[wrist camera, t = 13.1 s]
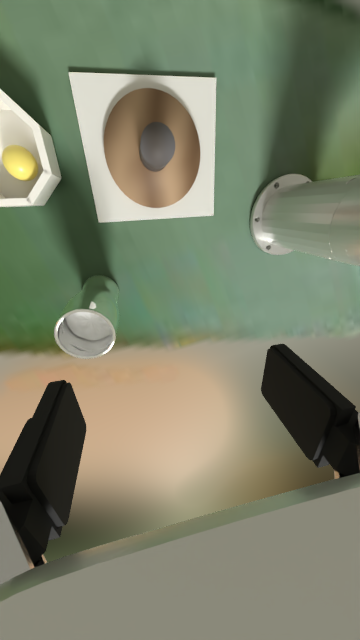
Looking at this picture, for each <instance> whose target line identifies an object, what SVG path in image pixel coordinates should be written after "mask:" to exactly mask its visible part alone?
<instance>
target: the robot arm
mask: <svg viewBox="0 0 360 640" xmlns="http://www.w3.org/2000/svg"><path fill="white" fill-rule="evenodd" d="M274 185H275V186H274ZM255 218H256V220H255ZM250 230H251V234H252V237H253V240H254V242H255V243H256V245H257V246H258V247H259V248H260V249H261V250H263V251H265V252H266V253H269V254H273V255H283V254H287V253H290V252H292V251H294V250H295V251H299V252H303V253H307V254H311V255H315V256H319V257H323V258H327V259H331V260H334V261H338V262H342V263H346V264H351V265H355V266H360V175H355V176H348V177H342V178H335V179H328V180H322V181H315V182H312V181H311V180H310V179H309V178H307V177H306V176H304V175H301V174H288V175H284V176H280V177H278V178H276V179H274V180H273V181H272V182H270V183H269V184H268V185H267V186H266V187H265V188H264V189H263V190H262V191H261V193H260V194H259V196H258V197H257V199H256V201H255V203H254V206H253V209H252V212H251V219H250ZM261 391H262V394H263V396H264V398H265V399H266V400H267V402H268V403H269V405H270V406H271V408H272V409H273V410H274V412H275V413H276V414H277V416H278V417H279V419H280V420H281V422H282V423H283V424H284V426H285V427H286V429H287V430H288V432H289V433H290V434H291V436H292V437H293V438H294V440H295V441H296V443H297V444H298V446H299V447H300V448H301V450H302V451H303V453H304V454H305V455H306V457H307V458H308V459H309V460H312V461H313V462H314V463H315V465H316V466H317V467H322V466H326V465H329V464H330V465H331V466H332V467H333V469H334V474H335V479H334V480H330V481H326V482H322V483H319V484H315V485H311V486H308V487H305V488H301V489H297V490H294V491H290V492H286V493H283V494H279V495H275V496H272V497H268V498H264V499H261V500H257V501H254V502H251V503H247V504H243V505H240V506H236V507H233V508H229V509H225V510H222V511H218V512H215V513H212V514H208V515H204V516H201V517H197V518H194V519H190V520H187V521H183V522H180V523H176V524H173V525H169V526H166V527H163V528H159V529H155V530H152V531H148V532H145V533H142V534H138V535H135V536H131V537H128V538H124V539H121V540H117V541H114V542H111V543H108V544H104V545H101V546H98V547H94V548H91V549H88V550H85V551H81V552H78V553H75V554H72V555H69V556H65V557H62V558H59V559H57V560H54V561H51V562H49V563H47V561H46V559H45V557H44V555H43V553H44V552H45V551H46V547H47V544H48V540H52V539H55V538H59V537H60V535H61V530H62V526H64V525H66V524H67V522H68V518H69V513H70V509H71V504H72V499H73V494H74V489H75V484H76V479H77V474H78V469H79V464H80V459H81V454H82V449H83V444H84V439H85V434H86V423H85V420H84V418H83V415H82V412H81V410H80V407H79V404H78V402H77V399H76V396H75V394H74V391H73V388H72V386H71V383H66V381H65V380H61V381H55V382H50V383H49V384H48V385H47V388H46V390H45V392H44V394H43V396H42V398H41V400H40V402H39V404H38V407H37V409H36V411H35V413H34V415H33V417H32V418H30V419H29V420H28V421H27V423H26V424H25V426H24V428H23V430H22V432H21V434H20V436H19V438H18V440H17V442H16V444H15V446H14V448H13V450H12V452H11V454H10V456H9V458H8V460H7V462H6V464H5V466H4V468H3V471H2V472H1V475H0V640H360V412H359V413H358V412H357V411H356V410H355V406H354V405H353V404H352V403H351V402H350V401H349V400H348V399H347V398H345V397H344V396H343V395H342V394H341V393H339V391H337V390H336V389H335V388H334V387H333V386H332V385H330V384H329V383H328V382H327V381H326V380H325V379H324V378H323V377H321V376H320V375H319V374H318V373H317V372H316V371H315V370H313V369H312V368H311V367H310V366H309V365H308V364H307V363H305V362H304V361H303V360H302V359H301V358H300V357H299V356H297V355H296V354H295V353H294V352H293V351H292V350H291V349H289V348H288V347H287V346H286V345H285V344H278V345H273V346H271V347H270V349H268V351H267V357H266V363H265V369H264V375H263V381H262V387H261Z"/></svg>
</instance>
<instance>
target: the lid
mask: <svg viewBox="0 0 360 640" xmlns="http://www.w3.org/2000/svg"><path fill="white" fill-rule="evenodd" d="M104 154H105V159H106V163H107V166H108V169H109V171H110V174H111V176H112V178H113V179H114V181H115V183H116V184H117V186H118V187H119V189H120V190H121V191H122V192H123V193H124V194H125V195H126V196H127V197H128V198H130V199H131V200H132V201H134V202H136V203H138V204H140V205H142V206H145V207H150V208H162V207H167V206H170V205H172V204H175V203H176V202H178V201H179V200H181V199H182V198H183V197H184V196H185V195H186V194H187V193H188V191H189V190H190V189H191V187H192V185H193V183H194V182H195V179H196V177H197V174H198V170H199V165H200V142H199V137H198V133H197V130H196V127H195V124H194V122H193V120H192V118H191V116H190V115H189V113H188V111H187V110H186V109H185V108H184V106H183V105H182V104H181V103H180V102H179V101H178V100H177V99H176V98H174V97H173V96H171V95H170V94H168V93H166V92H164V91H161V90H158V89H154V88H141V89H137V90H134V91H132V92H129V93H128V94H126V95H125V96H123V97H122V98H121V99H120V100H119V101H118V102H117V103H116V105H115V106H114V107H113V109H112V111H111V113H110V114H109V117H108V120H107V122H106V126H105V131H104Z"/></svg>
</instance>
